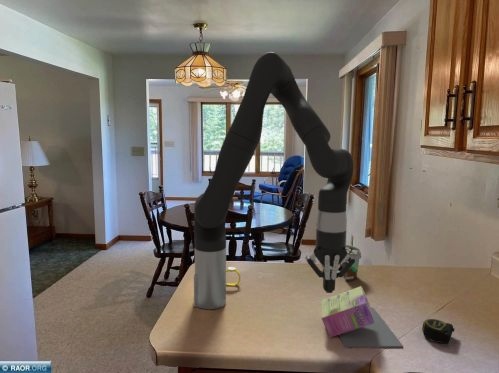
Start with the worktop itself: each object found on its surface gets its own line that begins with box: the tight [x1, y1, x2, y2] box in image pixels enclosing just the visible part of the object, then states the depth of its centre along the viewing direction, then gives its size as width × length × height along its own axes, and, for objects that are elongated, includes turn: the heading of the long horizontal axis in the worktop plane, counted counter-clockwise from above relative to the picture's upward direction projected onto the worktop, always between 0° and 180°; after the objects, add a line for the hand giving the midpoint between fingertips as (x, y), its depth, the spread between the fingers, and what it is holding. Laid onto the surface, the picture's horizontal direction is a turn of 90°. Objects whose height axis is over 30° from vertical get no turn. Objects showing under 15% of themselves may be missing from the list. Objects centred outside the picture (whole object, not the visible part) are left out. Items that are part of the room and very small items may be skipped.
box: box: [321, 285, 375, 338], centre depth 97 cm, size 10×6×12 cm
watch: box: [226, 266, 241, 287], centre depth 125 cm, size 6×3×6 cm, turn 91°
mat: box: [338, 306, 404, 349], centre depth 100 cm, size 14×20×1 cm
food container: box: [339, 244, 362, 282], centre depth 134 cm, size 12×6×10 cm, turn 179°
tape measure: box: [421, 318, 456, 345], centre depth 94 cm, size 7×7×4 cm
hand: (328, 291), depth 98 cm, fingers closed
